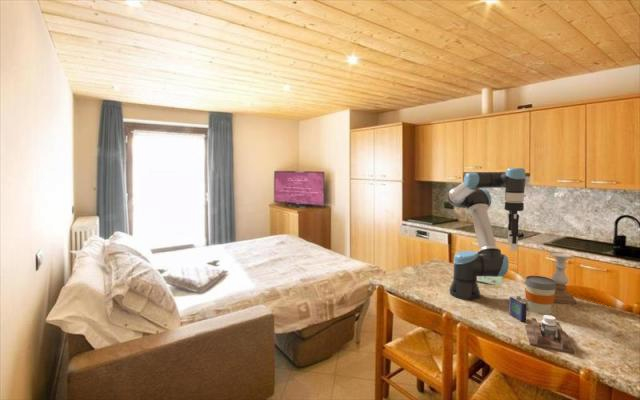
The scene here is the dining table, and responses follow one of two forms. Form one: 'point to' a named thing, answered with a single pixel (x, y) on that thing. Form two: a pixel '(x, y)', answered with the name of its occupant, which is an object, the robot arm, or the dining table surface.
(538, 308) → the reusable coffee cup
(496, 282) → the green board with pegs
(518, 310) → the dark blue upright block
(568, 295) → the candle holder
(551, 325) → the pill bottle
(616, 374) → the dining table surface
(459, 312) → the dining table surface
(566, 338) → the clip stand
